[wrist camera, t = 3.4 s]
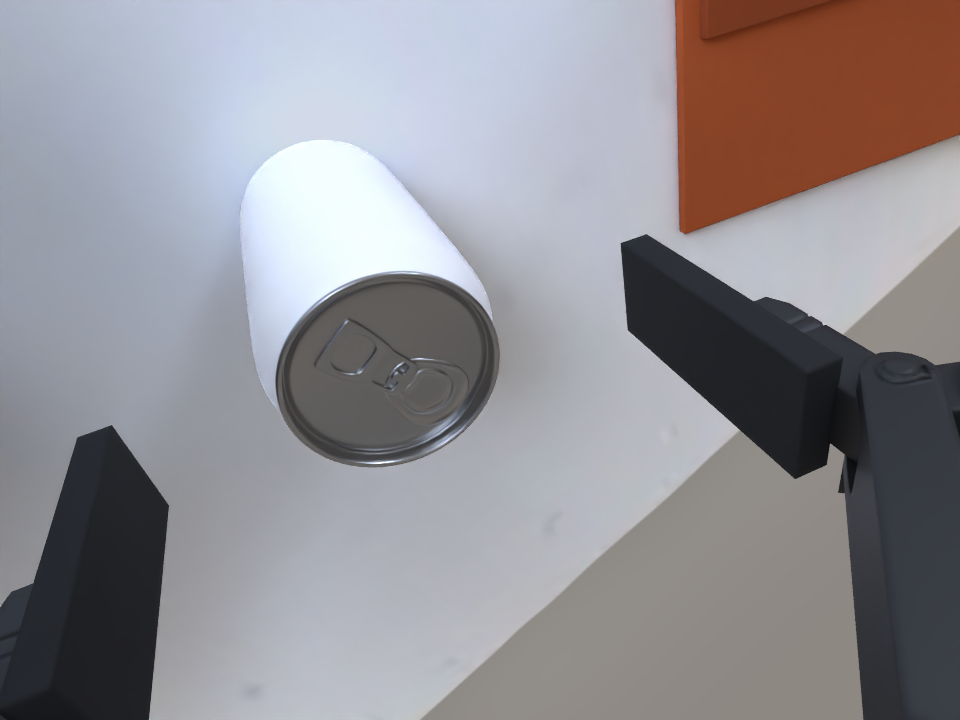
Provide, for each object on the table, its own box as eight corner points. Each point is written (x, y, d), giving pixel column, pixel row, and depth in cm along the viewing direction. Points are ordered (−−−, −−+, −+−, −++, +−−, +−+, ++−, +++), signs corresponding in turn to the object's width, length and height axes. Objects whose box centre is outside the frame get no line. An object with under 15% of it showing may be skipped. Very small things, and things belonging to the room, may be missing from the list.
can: (348, 320, 28) (419, 508, 18) (205, 245, 24) (201, 430, 15) (435, 198, 26) (562, 333, 17) (297, 99, 23) (359, 198, 13)
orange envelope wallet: (679, 231, 32) (691, 238, 31) (673, -53, 25) (689, -54, 24) (998, 115, 35) (1017, 118, 34) (1072, -164, 28) (1097, -167, 27)
